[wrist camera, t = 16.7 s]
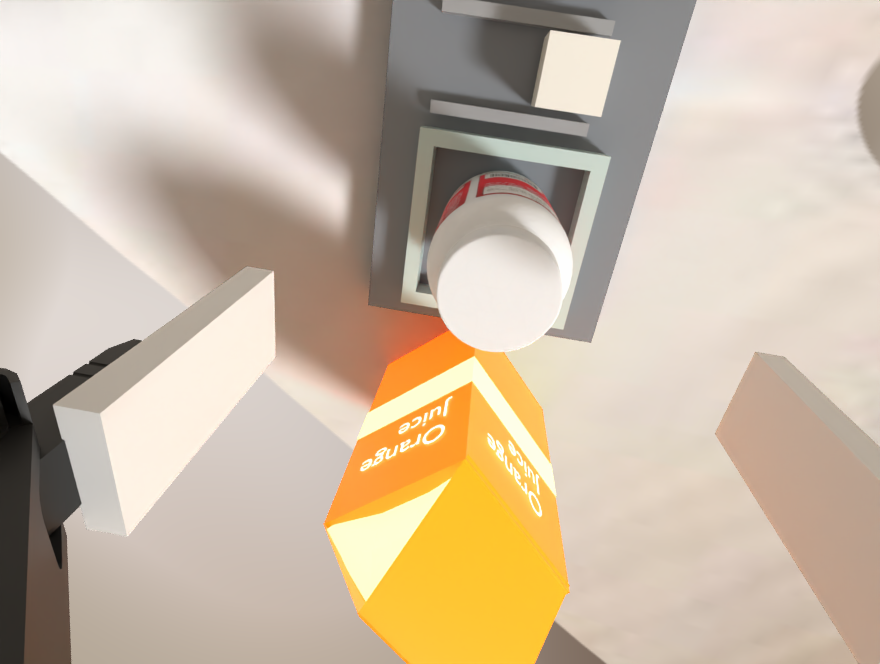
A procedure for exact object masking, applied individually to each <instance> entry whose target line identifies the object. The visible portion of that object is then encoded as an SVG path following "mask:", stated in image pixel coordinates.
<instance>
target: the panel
mask: <svg viewBox="0 0 880 664" xmlns="http://www.w3.org/2000/svg"><path fill="white" fill-rule="evenodd" d="M695 4H696V0H393V4H392V16H391V29H390V41H389V54H388V66H387V79H386V91H385V104H384V116H383V129H382V141H381V154H380V166H379V178H378V191H377V203H376V216H375V228H374V241H373V253H372V266H371V278H370V291H369V303H368V305H371V306H377V307H383V308H389V309H395V310H401V311H407V312H412V313H418V314H424V315H430V316H436V317H441V316H440V313H439V310H438V306H437V302H436V300H435V299H434V297H433V294H432V292H431V289H430V286H429V282H428V277H427V257H428V252H429V248H430V244H431V242H432V239H433V236H434V233H435V231H436V228H437V226H438V224H439V221H440V219H441V217H442V214H443V212H444V209H445V207H446V205H447V203H448V201H449V199H450V198H451V196H452V195H453V194H454V192H455V191H456V190H457V189H458V188H459V187H460V186H461V185H462V184H463V183H465V182H466V181H467V180H469V179H471V178H472V177H474V176H477V175H479V174H482V173H485V172H490V171H509V172H513V173H517V174H519V175H522V176H524V177H526V178H528V179H529V180H531V181H532V182H533V183H534V184H536V185H537V186H538V187H539V188H540V190H541V191H542V192H543V193H544V195H545V196H546V198H547V199H548V201H549V203H550V205H551V207H552V208H553V210H554V212H555V213H556V216H557V217H558V219H559V221H560V223H561V225H562V227H563V229H564V231H565V233H566V235H567V237H568V240H569V243H570V247H571V251H572V258H573V270H572V277H571V281H570V285H569V288H568V291H567V293H566V295H565V297H564V299H563V301H562V306H561V309H560V312H559V314H558V316H557V318H556V320H555V322H554V323H553V325H552V326H551V328H550V329H549V330H548V331H547V332H546V333H545V334H544V335H548V336H554V337H560V338H566V339H572V340H578V341H584V342H590V343H591V341H592V338H593V335H594V331H595V328H596V325H597V322H598V318H599V315H600V312H601V309H602V305H603V302H604V299H605V296H606V292H607V289H608V286H609V283H610V279H611V276H612V273H613V270H614V266H615V263H616V260H617V257H618V254H619V250H620V247H621V244H622V241H623V237H624V234H625V231H626V228H627V224H628V221H629V218H630V215H631V211H632V208H633V205H634V202H635V198H636V195H637V192H638V189H639V185H640V182H641V179H642V176H643V172H644V169H645V166H646V163H647V159H648V156H649V153H650V150H651V146H652V143H653V140H654V137H655V133H656V130H657V127H658V124H659V120H660V117H661V114H662V111H663V108H664V104H665V101H666V98H667V95H668V91H669V88H670V85H671V82H672V78H673V75H674V72H675V69H676V65H677V62H678V59H679V56H680V52H681V49H682V46H683V43H684V39H685V36H686V33H687V30H688V26H689V23H690V20H691V17H692V13H693V10H694V7H695ZM550 30H553V31H560V32H567V33H574V34H580V35H587V36H594V37H600V38H607V39H614V40H621V42H620V46H619V50H618V54H617V58H616V62H615V66H614V69H613V73H612V77H611V81H610V85H609V89H608V93H607V96H606V100H605V104H604V108H603V112H602V116H601V117H597V116H591V115H584V114H578V113H571V112H565V111H558V110H552V109H545V108H539V107H533V106H531V102H532V97H533V92H534V87H535V82H536V77H537V72H538V67H539V62H540V57H541V52H542V47H543V42H544V38H545V36H546V35H547V34H548V33H549V31H550Z"/></svg>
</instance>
